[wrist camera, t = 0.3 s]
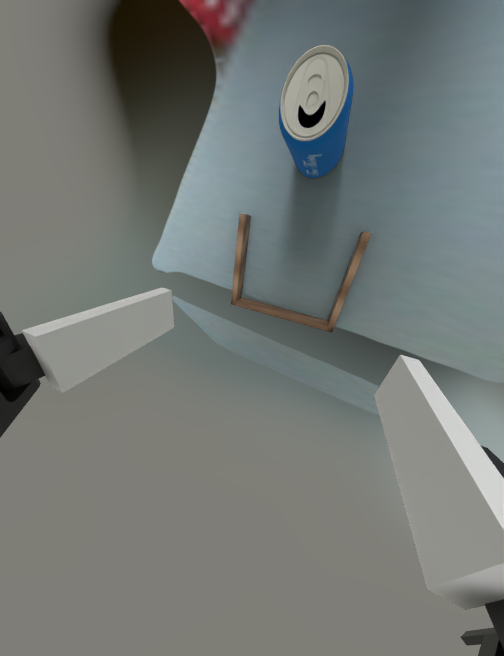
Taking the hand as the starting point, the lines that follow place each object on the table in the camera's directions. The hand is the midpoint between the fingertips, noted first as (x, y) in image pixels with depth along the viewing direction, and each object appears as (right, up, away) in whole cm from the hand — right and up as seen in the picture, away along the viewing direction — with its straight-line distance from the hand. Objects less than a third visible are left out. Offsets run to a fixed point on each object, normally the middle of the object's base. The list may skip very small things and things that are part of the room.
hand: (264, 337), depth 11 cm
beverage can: (+9, +25, +16) cm, 31 cm away
